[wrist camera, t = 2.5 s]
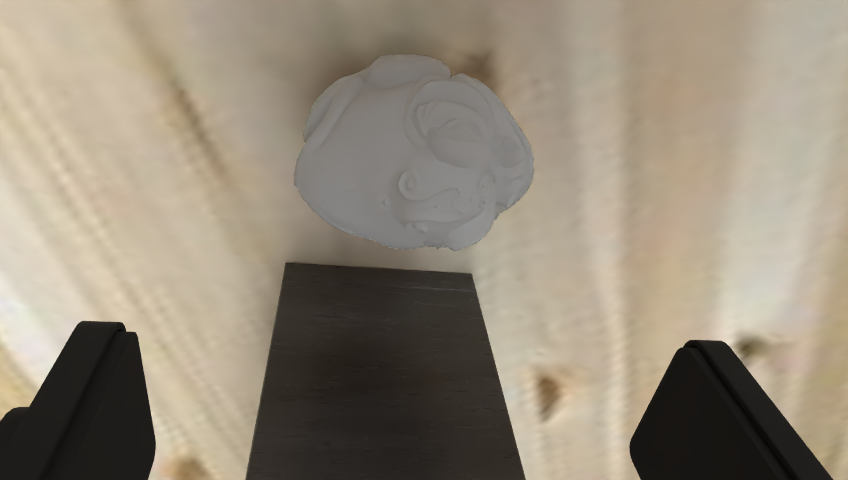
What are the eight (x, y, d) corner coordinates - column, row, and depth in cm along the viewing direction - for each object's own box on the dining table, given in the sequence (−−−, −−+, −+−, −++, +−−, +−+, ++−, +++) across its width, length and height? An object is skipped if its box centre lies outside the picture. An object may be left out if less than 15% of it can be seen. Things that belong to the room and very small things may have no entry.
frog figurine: (501, 171, 22) (549, 280, 17) (324, 200, 22) (312, 319, 17) (489, 9, 19) (545, 76, 13) (282, 44, 19) (247, 126, 13)
